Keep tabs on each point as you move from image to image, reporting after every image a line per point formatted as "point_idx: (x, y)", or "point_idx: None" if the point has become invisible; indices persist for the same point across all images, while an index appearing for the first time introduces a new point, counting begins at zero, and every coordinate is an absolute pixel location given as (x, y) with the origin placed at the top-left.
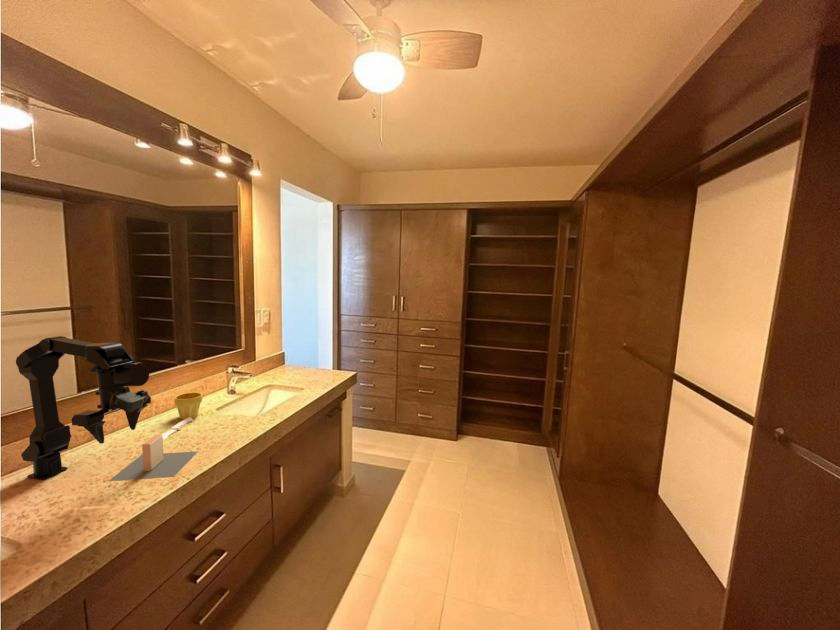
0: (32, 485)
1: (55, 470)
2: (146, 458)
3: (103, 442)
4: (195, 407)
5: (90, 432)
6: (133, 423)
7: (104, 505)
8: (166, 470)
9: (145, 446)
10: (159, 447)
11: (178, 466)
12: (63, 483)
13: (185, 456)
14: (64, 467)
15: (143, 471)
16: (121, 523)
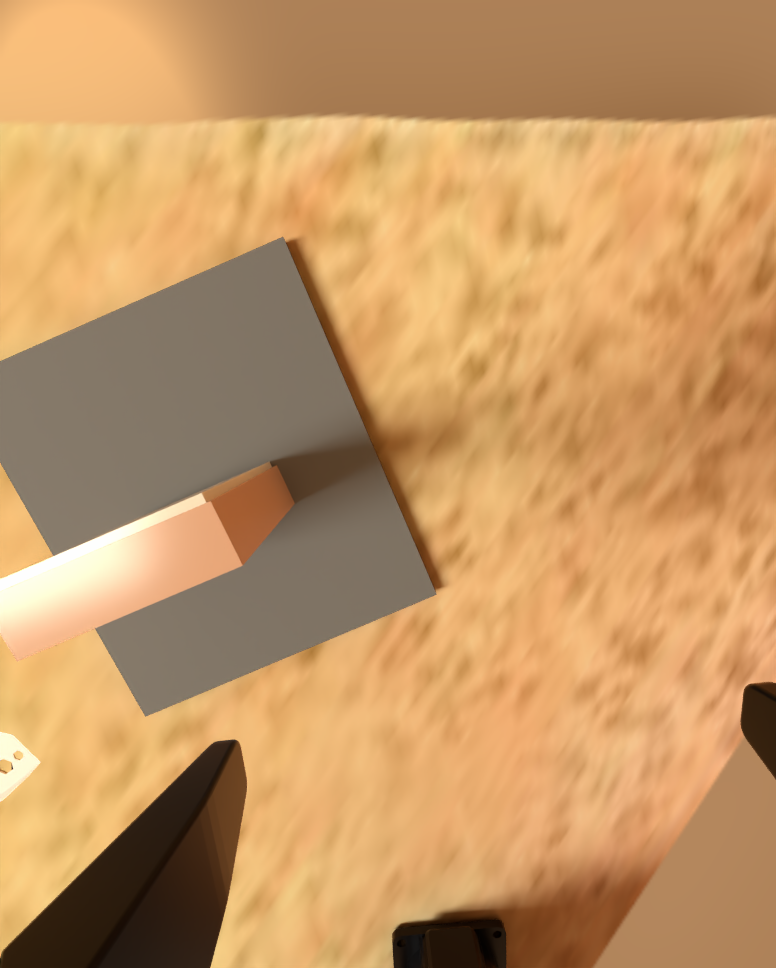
0: (545, 909)
1: (459, 945)
2: (265, 500)
3: (768, 683)
4: None
5: None
6: (188, 855)
7: (601, 387)
8: (240, 364)
9: (235, 529)
10: (118, 527)
11: (173, 327)
12: (497, 800)
13: (49, 407)
14: (398, 951)
15: (297, 501)
16: (708, 122)
